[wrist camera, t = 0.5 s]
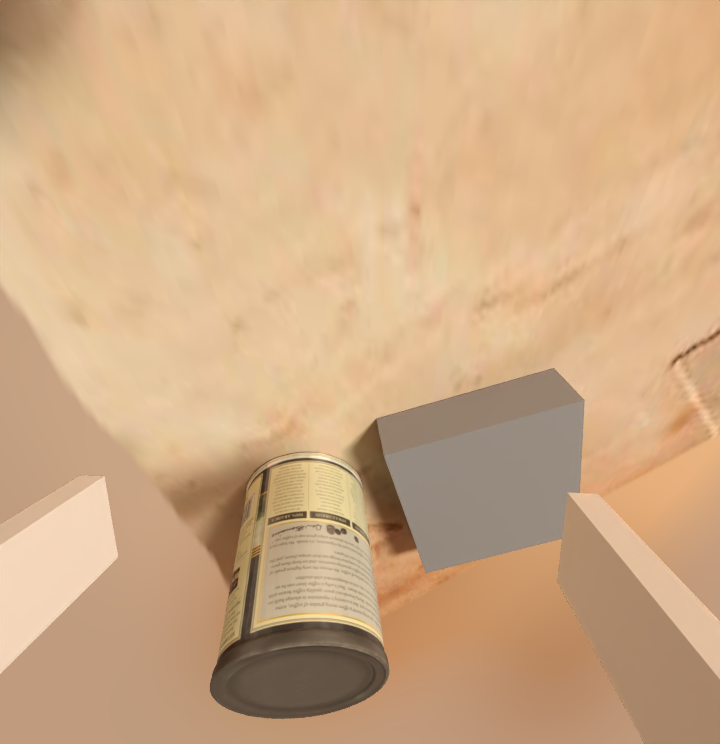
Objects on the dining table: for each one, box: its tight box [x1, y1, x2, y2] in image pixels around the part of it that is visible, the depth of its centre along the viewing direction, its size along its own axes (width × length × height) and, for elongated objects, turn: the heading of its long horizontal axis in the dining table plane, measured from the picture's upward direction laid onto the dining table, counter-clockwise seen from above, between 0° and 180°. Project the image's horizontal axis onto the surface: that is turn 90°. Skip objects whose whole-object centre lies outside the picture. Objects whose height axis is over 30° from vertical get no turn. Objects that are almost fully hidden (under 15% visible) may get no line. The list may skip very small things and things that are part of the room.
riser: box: [376, 368, 584, 573], centre depth 33 cm, size 16×14×4 cm
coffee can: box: [210, 452, 389, 719], centre depth 29 cm, size 10×10×14 cm
